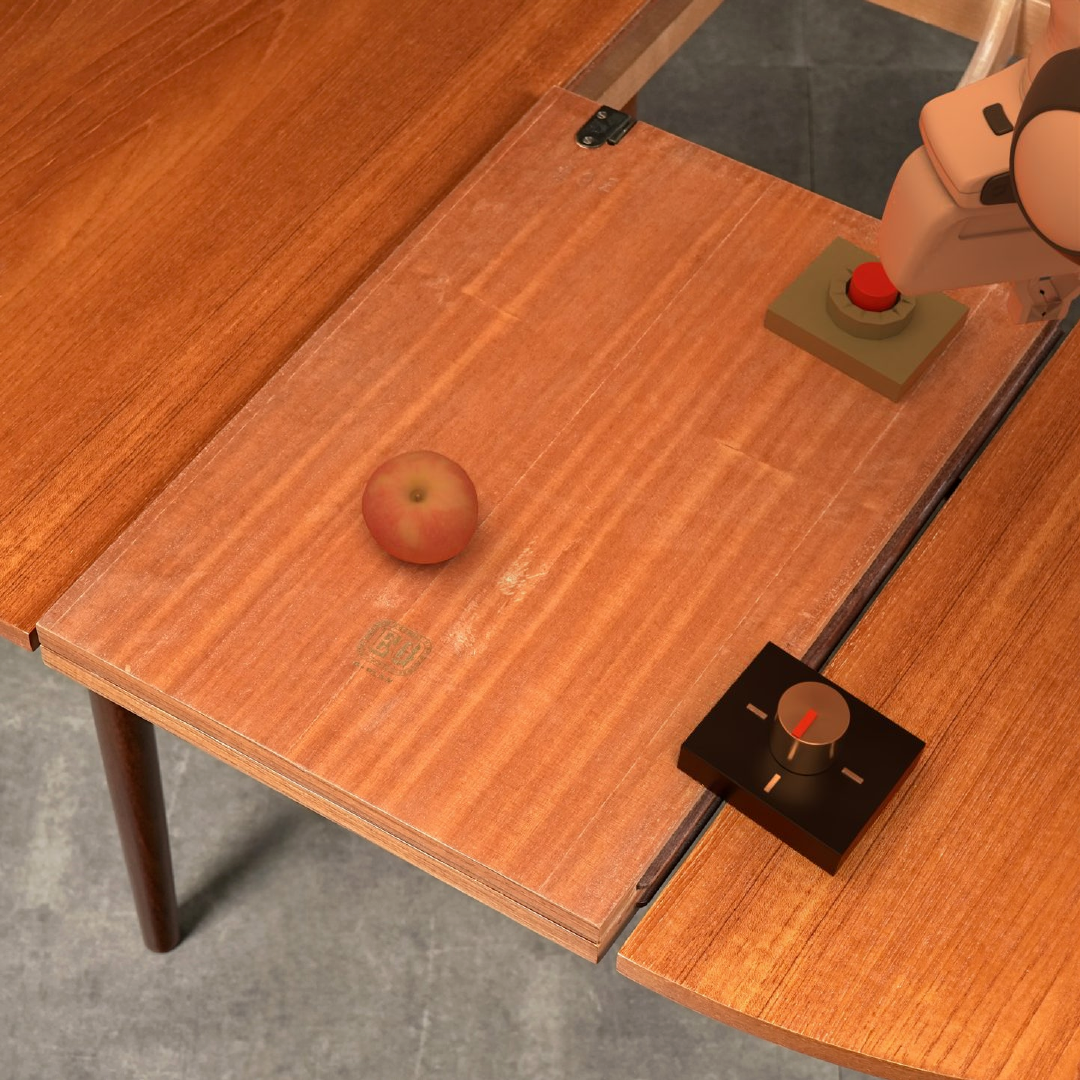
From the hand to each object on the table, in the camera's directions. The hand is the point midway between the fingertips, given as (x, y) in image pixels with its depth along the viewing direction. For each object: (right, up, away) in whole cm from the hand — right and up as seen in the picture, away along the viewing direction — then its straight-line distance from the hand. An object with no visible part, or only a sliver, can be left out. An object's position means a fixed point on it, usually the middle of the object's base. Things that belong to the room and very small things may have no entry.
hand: (1034, 314), depth 97 cm
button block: (-3, +4, +34) cm, 34 cm away
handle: (-12, -26, +9) cm, 30 cm away
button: (-3, +6, +31) cm, 32 cm away
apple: (-37, -13, +21) cm, 44 cm away
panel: (-12, -28, +12) cm, 32 cm away
